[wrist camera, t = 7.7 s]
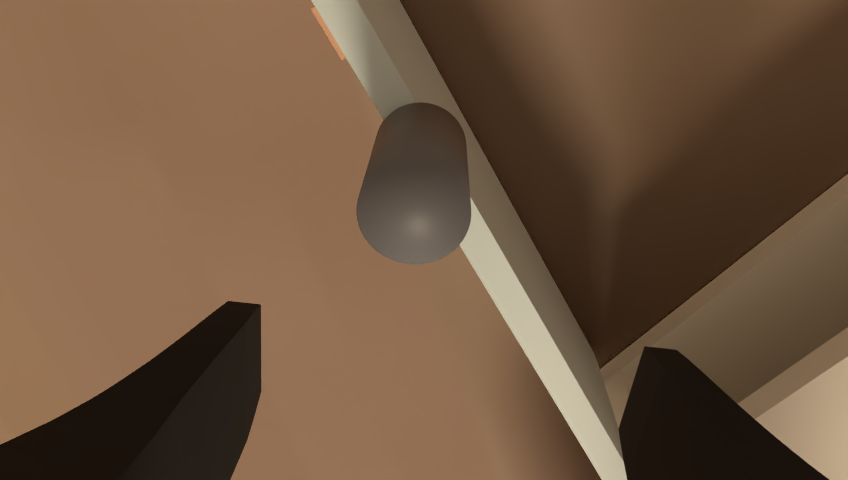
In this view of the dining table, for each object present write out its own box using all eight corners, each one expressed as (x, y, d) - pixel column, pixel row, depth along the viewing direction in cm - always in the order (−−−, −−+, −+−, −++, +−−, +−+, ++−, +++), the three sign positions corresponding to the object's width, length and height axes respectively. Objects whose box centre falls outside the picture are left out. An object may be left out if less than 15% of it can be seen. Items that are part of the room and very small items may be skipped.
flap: (610, 348, 25) (697, 591, 16) (559, 369, 25) (618, 615, 16) (392, -59, 19) (344, -19, 10) (331, -21, 19) (237, 48, 10)
